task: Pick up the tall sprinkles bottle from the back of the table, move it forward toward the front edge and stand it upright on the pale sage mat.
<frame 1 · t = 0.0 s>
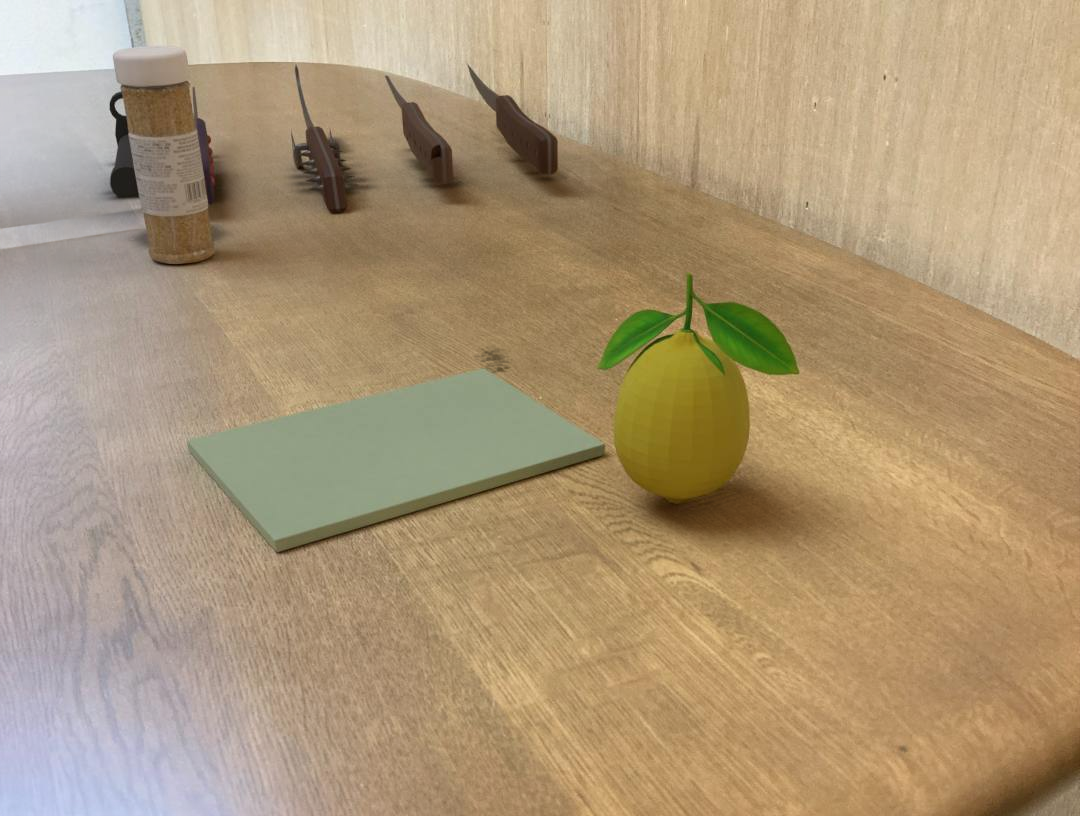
mat: (395, 453, 53), on the table
lemon: (680, 507, 49), on the table
sprinkles bottle: (183, 259, 80), on the table
knife set: (326, 170, 103), on the table
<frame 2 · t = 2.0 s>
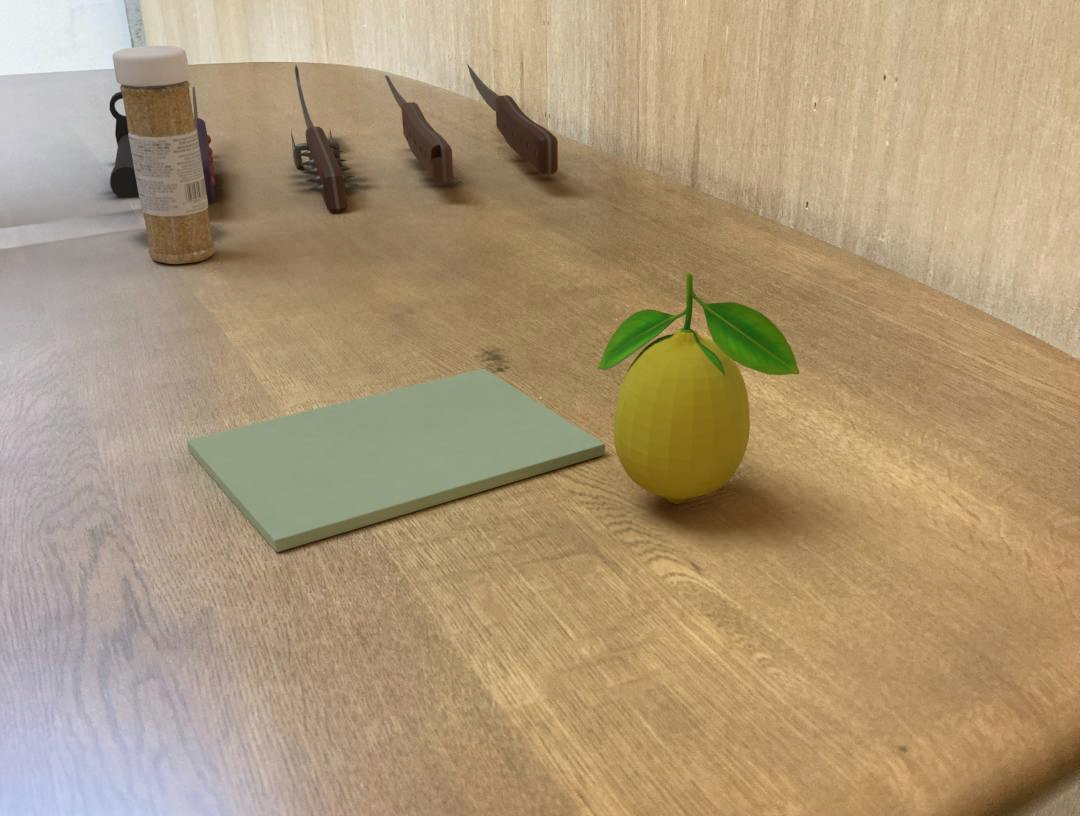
nothing on the table moved.
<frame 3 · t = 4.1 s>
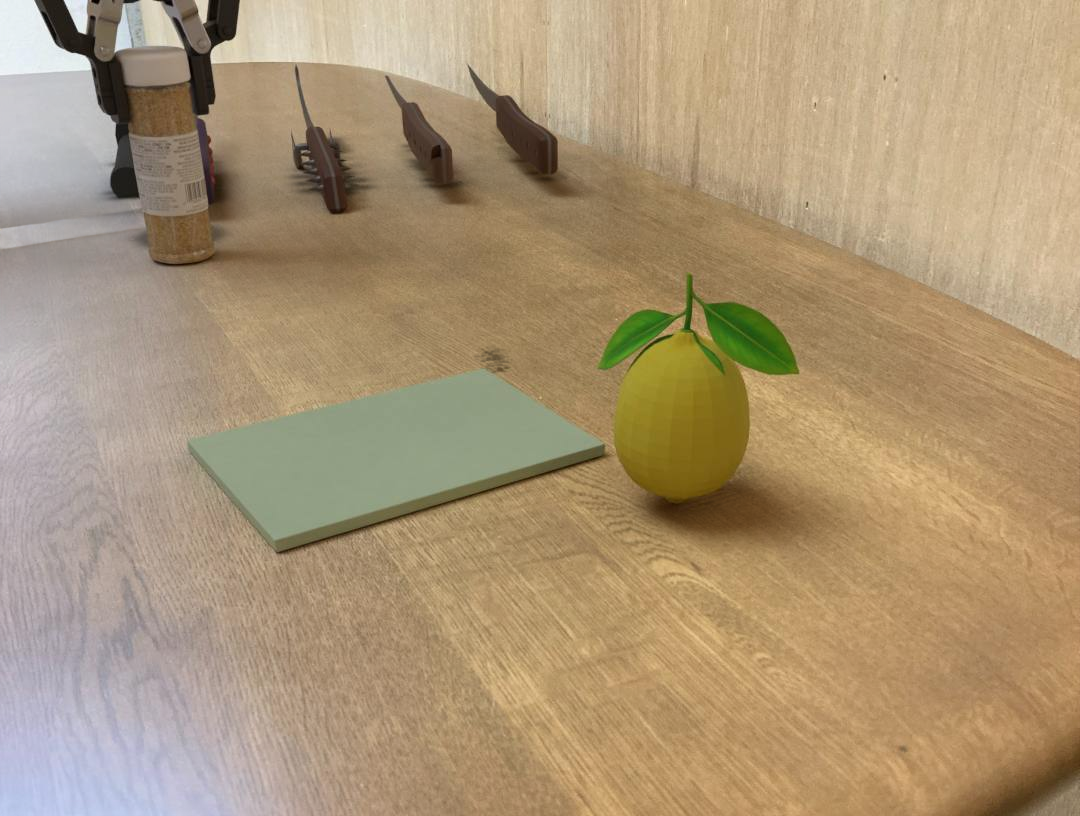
hand: (160, 116, 75), 9 cm above the table, tool pointing down, fingers closed on sprinkles bottle, 4 cm apart
sprinkles bottle: (183, 259, 80), on the table, touching gripper
everything else where it was.
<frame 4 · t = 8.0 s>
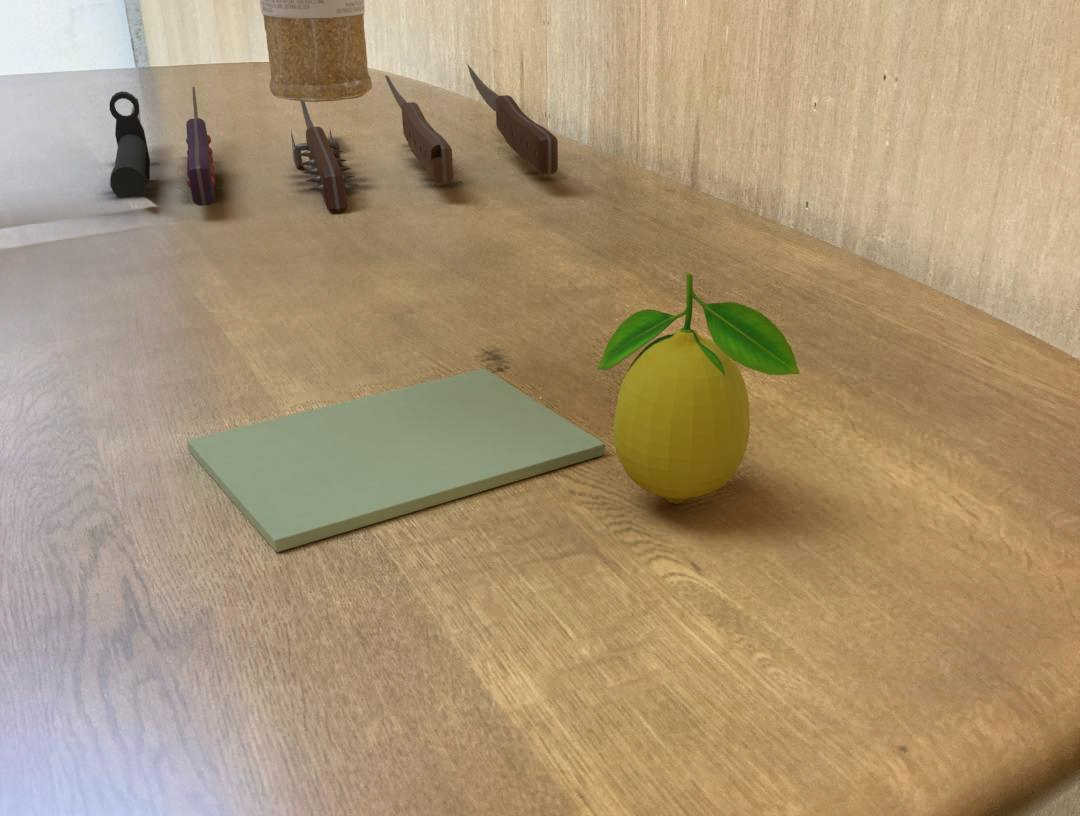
sprinkles bottle: (322, 100, 51), point 14 cm above the table, touching gripper
everything else where it was.
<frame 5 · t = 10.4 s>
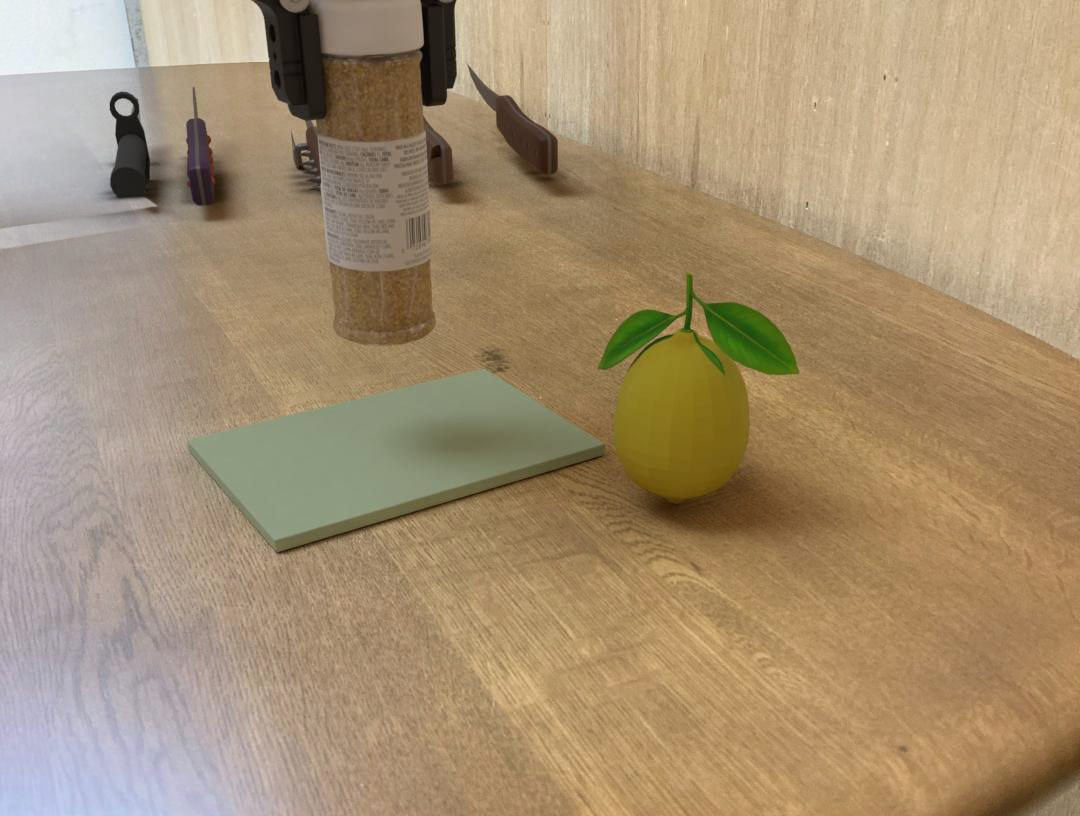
hand: (368, 107, 45), 15 cm above the table, tool pointing down, fingers closed on sprinkles bottle, 4 cm apart
sprinkles bottle: (385, 336, 50), point 6 cm above the table, touching gripper
everything else where it was.
when the fingers open (10 cm above the table, at t = 12.0 s): sprinkles bottle stays where it is, resting on mat.
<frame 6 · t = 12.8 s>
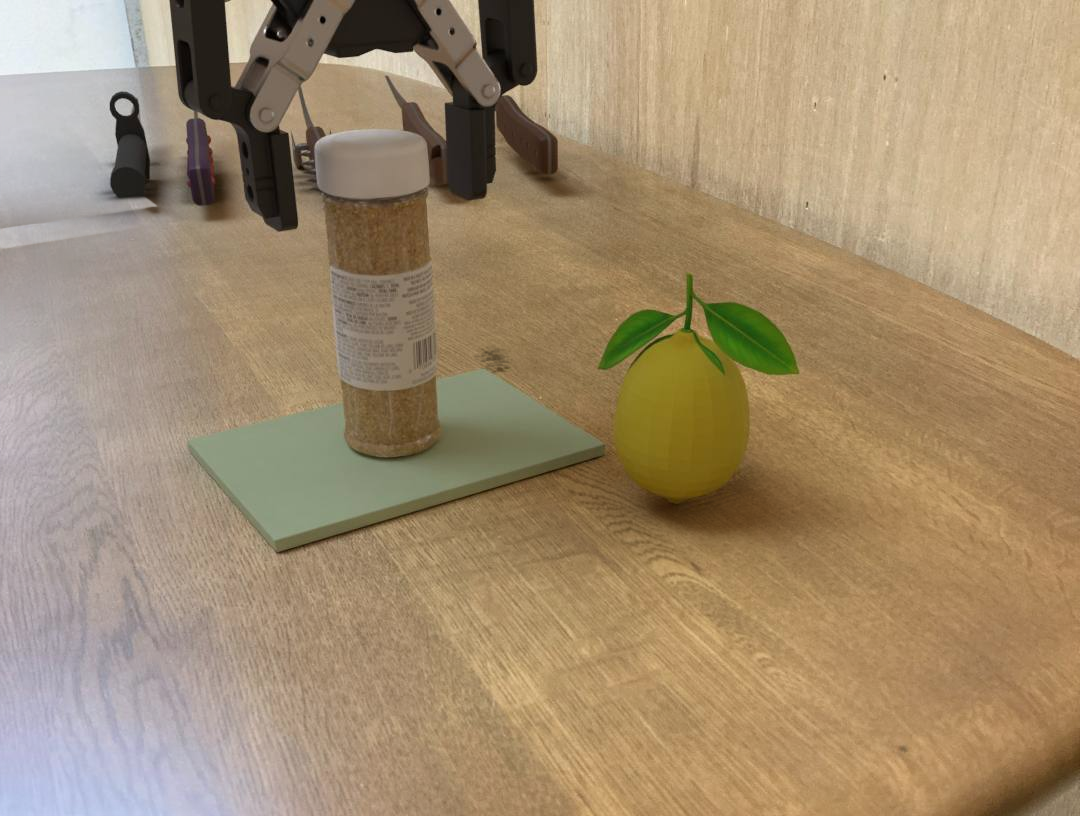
hand: (377, 211, 47), 11 cm above the table, tool pointing down, fingers open, 8 cm apart
sprinkles bottle: (393, 444, 53), resting on mat
everything else where it was.
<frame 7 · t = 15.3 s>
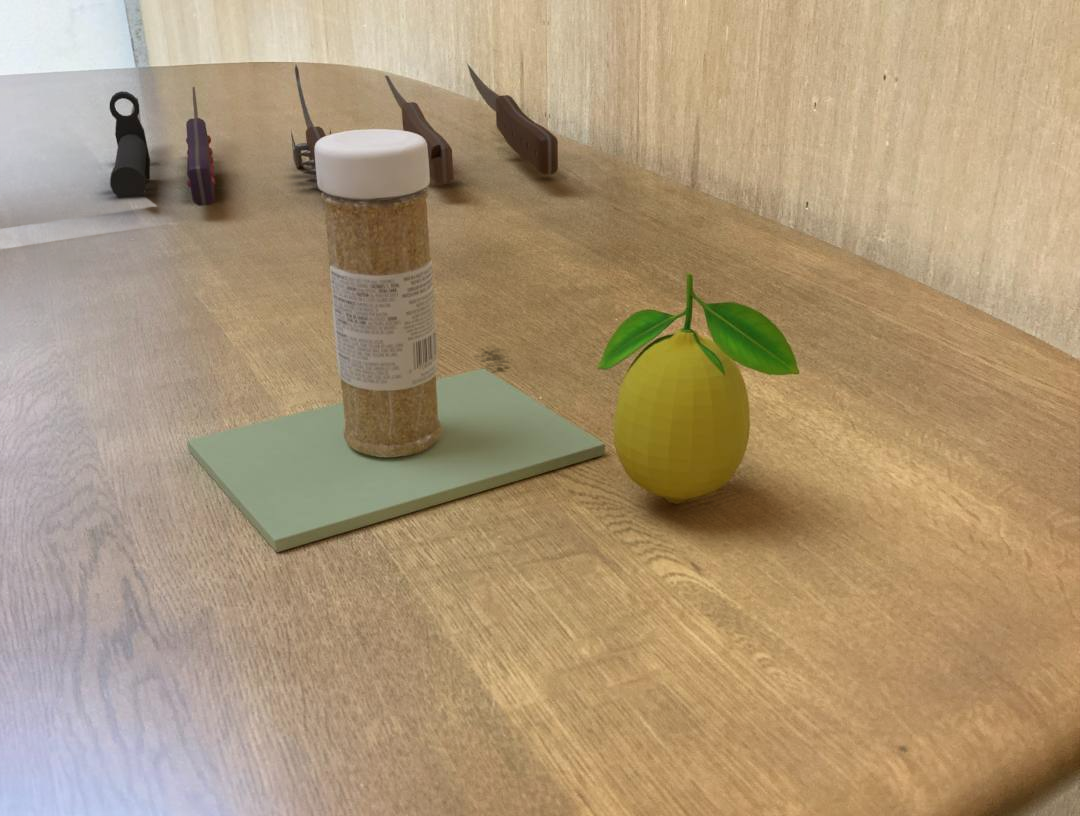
nothing on the table moved.
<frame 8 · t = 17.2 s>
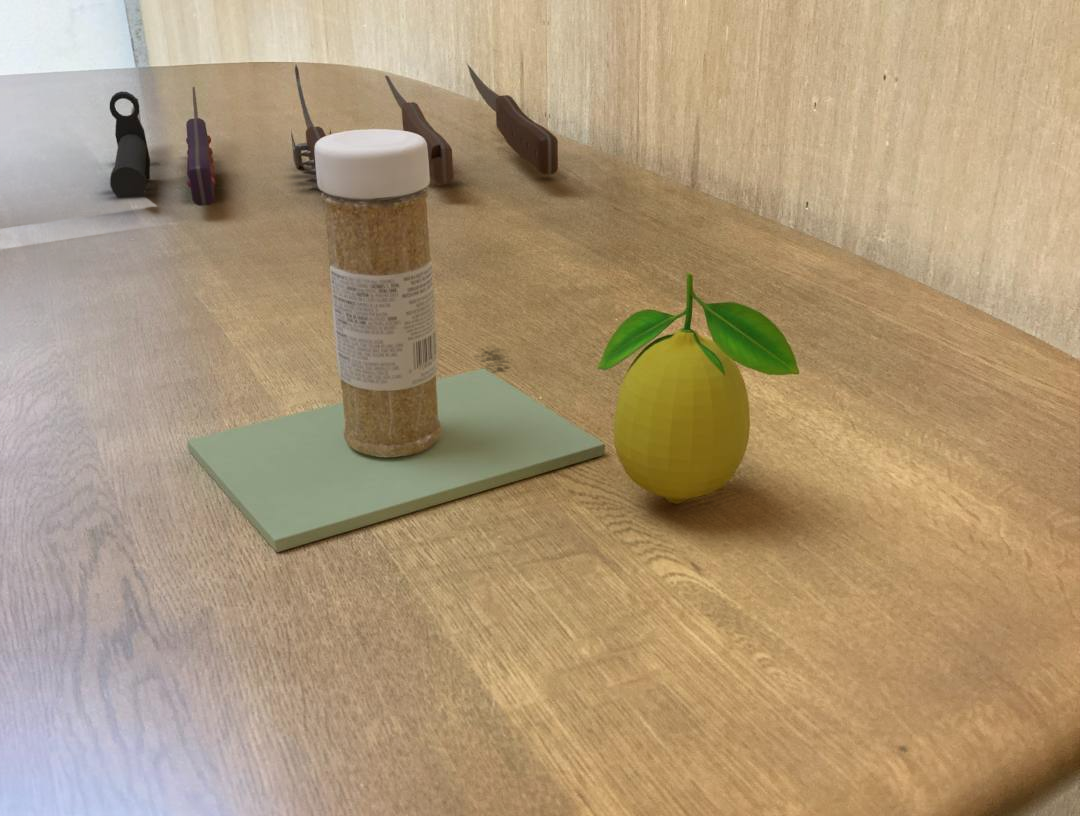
nothing on the table moved.
at the end: sprinkles bottle inside the target area on the mat (0.1 cm from its centre), point 0.4 cm above the mat's base; sprinkles bottle tilted 0°; the gripper is holding nothing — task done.
